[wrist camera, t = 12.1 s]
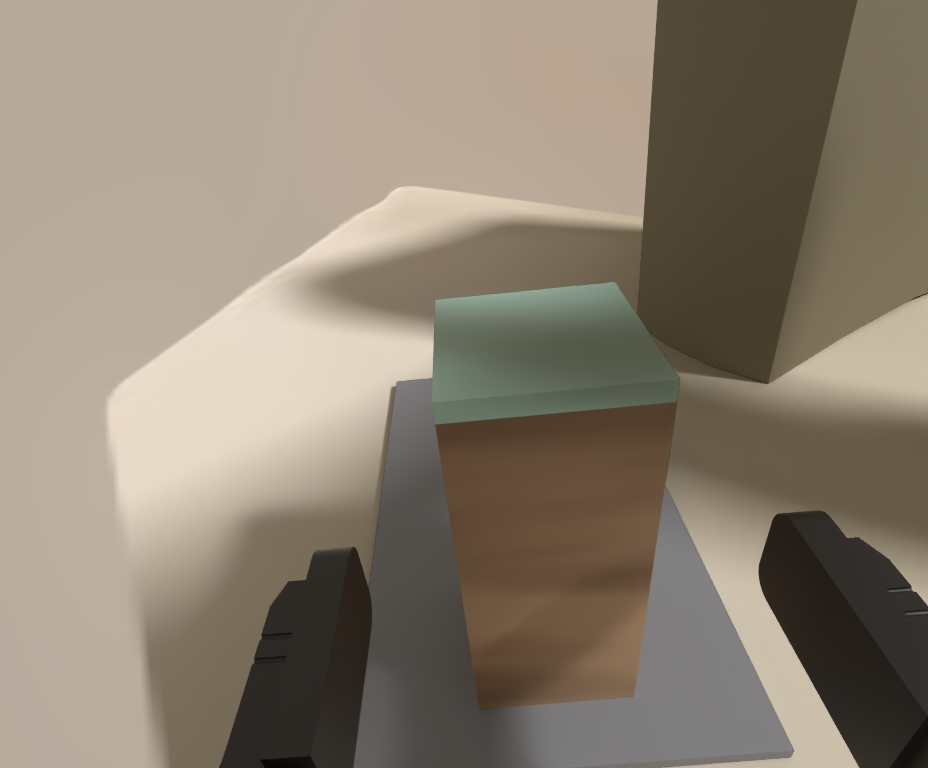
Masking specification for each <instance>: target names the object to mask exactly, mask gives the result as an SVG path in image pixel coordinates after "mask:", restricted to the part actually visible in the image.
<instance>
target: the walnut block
mask: <svg viewBox="0 0 928 768" xmlns="http://www.w3.org/2000/svg"><path fill="white" fill-rule="evenodd" d="M679 386H680V378H679V376H678V375H677V373H676V372H675V370H674V369H673V367H672V366H671V364H670V363H669V361H668V360H667V358H666V357H665V356H664V354H663V353H662V351H661V350H660V348H659V347H658V345H657V344H656V342H655V341H654V339H653V338H652V336H651V335H650V333H649V332H648V330H647V329H646V327H645V326H644V324H643V323H642V321H641V320H640V318H639V317H638V315H637V314H636V312H635V311H634V309H633V308H632V306H631V305H630V303H629V302H628V300H627V299H626V297H625V296H624V295H623V293H622V292H621V290H620V289H619V287H618V286H617V284H616V283H615V282H609V283H599V284H589V285H579V286H569V287H559V288H549V289H539V290H529V291H519V292H509V293H499V294H489V295H479V296H469V297H459V298H449V299H439V300H435V323H434V352H433V380H432V408H433V414H434V421H435V427H436V434H437V440H438V446H439V453H440V459H441V466H442V472H443V479H444V485H445V491H446V498H447V504H448V511H449V517H450V524H451V530H452V536H453V543H454V549H455V556H456V562H457V569H458V575H459V581H460V588H461V594H462V601H463V607H464V614H465V620H466V626H467V633H468V639H469V646H470V652H471V659H472V665H473V671H474V678H475V684H476V691H477V697H478V703H479V709H492V708H505V707H517V706H530V705H542V704H555V703H568V702H580V701H593V700H605V699H618V698H631V697H634V695H635V688H636V681H637V674H638V667H639V660H640V653H641V647H642V640H643V633H644V626H645V619H646V612H647V605H648V598H649V592H650V585H651V578H652V571H653V564H654V557H655V550H656V544H657V537H658V530H659V523H660V516H661V509H662V502H663V495H664V489H665V482H666V475H667V468H668V461H669V454H670V447H671V441H672V434H673V427H674V420H675V413H676V406H677V399H678V392H679Z"/></svg>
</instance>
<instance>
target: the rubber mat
mask: <svg viewBox="0 0 928 768" xmlns="http://www.w3.org/2000/svg"><path fill="white" fill-rule="evenodd" d="M432 380H433V378H429V379H418V380H408V381H397V383H396V390H395V397H394V405H393V412H392V420H391V427H390V434H389V442H388V449H387V457H386V464H385V471H384V479H383V486H382V494H381V501H380V508H379V516H378V523H377V531H376V538H375V545H374V553H373V560H372V568H371V575H370V582H369V592H370V596H371V602H372V628H371V636H370V644H369V652H368V659H367V667H366V675H365V682H364V690H363V698H362V705H361V713H360V721H359V728H358V736H357V744H356V751H355V759H354V767H353V768H660V767H673V766H686V765H699V764H712V763H725V762H738V761H751V760H764V759H777V758H790V757H791V756H792V754H793V752H794V749H793V747H792V745H791V743H790V741H789V739H788V737H787V735H786V733H785V730H784V728H783V726H782V724H781V722H780V720H779V718H778V716H777V714H776V712H775V710H774V708H773V706H772V704H771V702H770V700H769V697H768V695H767V693H766V691H765V689H764V687H763V685H762V683H761V681H760V679H759V677H758V675H757V673H756V671H755V669H754V666H753V664H752V662H751V660H750V658H749V656H748V654H747V652H746V650H745V648H744V646H743V644H742V642H741V640H740V638H739V636H738V633H737V631H736V629H735V627H734V625H733V623H732V621H731V619H730V617H729V615H728V613H727V611H726V609H725V607H724V605H723V603H722V600H721V598H720V596H719V594H718V592H717V590H716V588H715V586H714V584H713V582H712V580H711V578H710V576H709V574H708V572H707V570H706V567H705V565H704V563H703V561H702V559H701V557H700V555H699V553H698V551H697V549H696V547H695V545H694V543H693V541H692V539H691V537H690V534H689V532H688V530H687V528H686V526H685V524H684V522H683V520H682V518H681V516H680V514H679V512H678V510H677V508H676V506H675V504H674V501H673V499H672V497H671V495H670V493H669V491H668V489H667V487H666V485H665V489H664V495H663V502H662V509H661V516H660V523H659V530H658V537H657V544H656V550H655V557H654V564H653V571H652V578H651V585H650V592H649V598H648V605H647V612H646V619H645V626H644V633H643V640H642V647H641V653H640V660H639V667H638V674H637V681H636V688H635V695H634V697H631V698H618V699H605V700H593V701H580V702H568V703H555V704H542V705H530V706H517V707H505V708H492V709H479V703H478V697H477V691H476V684H475V678H474V671H473V665H472V659H471V652H470V646H469V639H468V633H467V626H466V620H465V614H464V607H463V601H462V594H461V588H460V581H459V575H458V569H457V562H456V556H455V549H454V543H453V536H452V530H451V524H450V517H449V511H448V504H447V498H446V491H445V485H444V479H443V472H442V466H441V459H440V453H439V446H438V440H437V434H436V427H435V421H434V414H433V408H432Z"/></svg>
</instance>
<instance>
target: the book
mask: <svg viewBox="0 0 928 768" xmlns="http://www.w3.org/2000/svg"><path fill="white" fill-rule="evenodd" d="M647 160H648V161H647V175H646V191H645V205H644V220H643V236H642V251H641V266H640V282H639V297H638V312H637V315H638V317H639V318H640V320H641V321H642V323H643V324H644V326H645V327H646V329H647V330H648V331H649V332H651V333H652V334H653V335H654V336H656V337H657V338H658V339H659V340H661V341H662V342H663V343H665V344H666V345H668V346H670V347H672V348H674V349H676V350H679V351H681V352H683V353H685V354H687V355H689V356H691V357H693V358H695V359H697V360H699V361H701V362H703V363H705V364H707V365H710V366H713V367H716V368H719V369H722V370H726V371H729V372H732V373H735V374H738V375H742V376H745V377H748V378H751V379H754V380H758V381H761V382H764V383H767V384H769V383H770V382H772V381H774V380H775V379H777V378H778V377H780V376H782V375H783V374H785V373H786V372H788V371H790V370H791V369H793V368H794V367H796V366H798V365H799V364H801V363H802V362H804V361H805V360H807V359H809V358H810V357H812V356H813V355H815V354H817V353H818V352H820V351H821V350H823V349H825V348H826V347H828V346H829V345H831V344H833V343H834V342H836V341H837V340H839V339H840V338H842V337H844V336H845V335H847V334H849V333H851V332H853V331H855V330H856V329H858V328H860V327H862V326H864V325H866V324H867V323H869V322H871V321H873V320H875V319H876V318H878V317H880V316H882V315H884V314H886V313H887V312H889V311H891V310H893V309H895V308H897V307H898V306H900V305H902V304H904V303H906V302H907V301H909V300H911V299H913V298H915V297H918V296H920V295H923V294H926V293H928V0H658V6H657V21H656V37H655V52H654V67H653V82H652V98H651V113H650V128H649V144H648V159H647Z"/></svg>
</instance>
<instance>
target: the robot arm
mask: <svg viewBox="0 0 928 768" xmlns="http://www.w3.org/2000/svg"><path fill="white" fill-rule="evenodd" d="M759 580H760V585H761V589H762V592H763V594H764V596H765V598H766V600H767V602H768V604H769V606H770V608H771V609H772V611H773V613H774V615H775V617H776V618H777V620H778V622H779V624H780V626H781V627H782V629H783V631H784V633H785V635H786V636H787V638H788V640H789V642H790V644H791V645H792V647H793V649H794V651H795V653H796V654H797V656H798V658H799V660H800V662H801V663H802V665H803V667H804V669H805V671H806V672H807V674H808V676H809V678H810V680H811V681H812V683H813V685H814V687H815V689H816V690H817V692H818V694H819V696H820V698H821V699H822V701H823V703H824V705H825V707H826V708H827V710H828V712H829V714H830V716H831V717H832V719H833V721H834V723H835V725H836V726H837V728H838V730H839V732H840V734H841V735H842V737H843V739H844V741H845V743H846V744H847V746H848V748H849V750H850V752H851V753H852V755H853V757H854V759H855V761H856V762H857V764H858V766H859V768H928V606H927V604H926V603H925V602H924V601H923V600H922V598H921V597H920V596H919V595H918V594H917V592H913V591H912V589H911V587H912V586H911V585H910V584H909V583H908V582H907V580H906V579H905V578H904V577H903V576H902V574H901V573H900V572H899V571H898V570H897V568H896V567H895V566H894V565H893V564H892V562H891V561H890V560H889V559H888V558H886V557H885V556H884V555H882V554H881V553H879V552H878V551H877V550H875V549H874V548H873V547H871V546H870V545H868V544H867V543H866V542H864V541H863V540H861V539H860V538H859V537H855V538H846V536H845V535H844V534H843V532H842V531H841V530H840V529H839V527H838V526H837V525H836V524H835V522H834V521H833V520H832V519H831V517H830V516H829V515H827V514H826V513H825V512H823V511H805V512H793V513H781V514H777V515H776V516H775V517H774V518H773V521H772V524H771V527H770V531H769V534H768V537H767V540H766V544H765V547H764V550H763V553H762V557H761V560H760V563H759ZM371 628H372V602H371V596H370V592H369V588H368V585H367V582H366V579H365V575H364V572H363V569H362V565H361V562H360V559H359V555H358V552H357V550H356V548H355V547H350V548H338V549H325V550H317V551H315V553H314V554H313V557H312V560H311V563H310V567H309V571H308V575H307V579H306V580H301V581H289V582H288V583H287V584H286V586H285V587H284V588H283V590H282V591H281V593H280V594H279V595H278V597H277V598H276V599H275V601H274V602H273V603H272V605H271V606H270V609H269V612H268V615H267V619H266V622H265V625H264V628H263V631H262V639H261V640H260V641H259V644H258V648H257V651H256V654H255V657H254V660H255V661H254V664H252V667H251V670H250V673H249V677H248V680H247V683H246V686H245V689H244V693H243V696H242V699H241V702H240V706H239V709H238V712H237V715H236V718H235V722H234V725H233V728H232V731H231V734H230V738H229V741H228V744H227V747H226V751H225V754H224V756H223V759H222V762H221V764H220V766H219V768H353V767H354V759H355V751H356V744H357V736H358V728H359V721H360V713H361V705H362V698H363V690H364V682H365V675H366V667H367V659H368V652H369V644H370V636H371Z"/></svg>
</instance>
